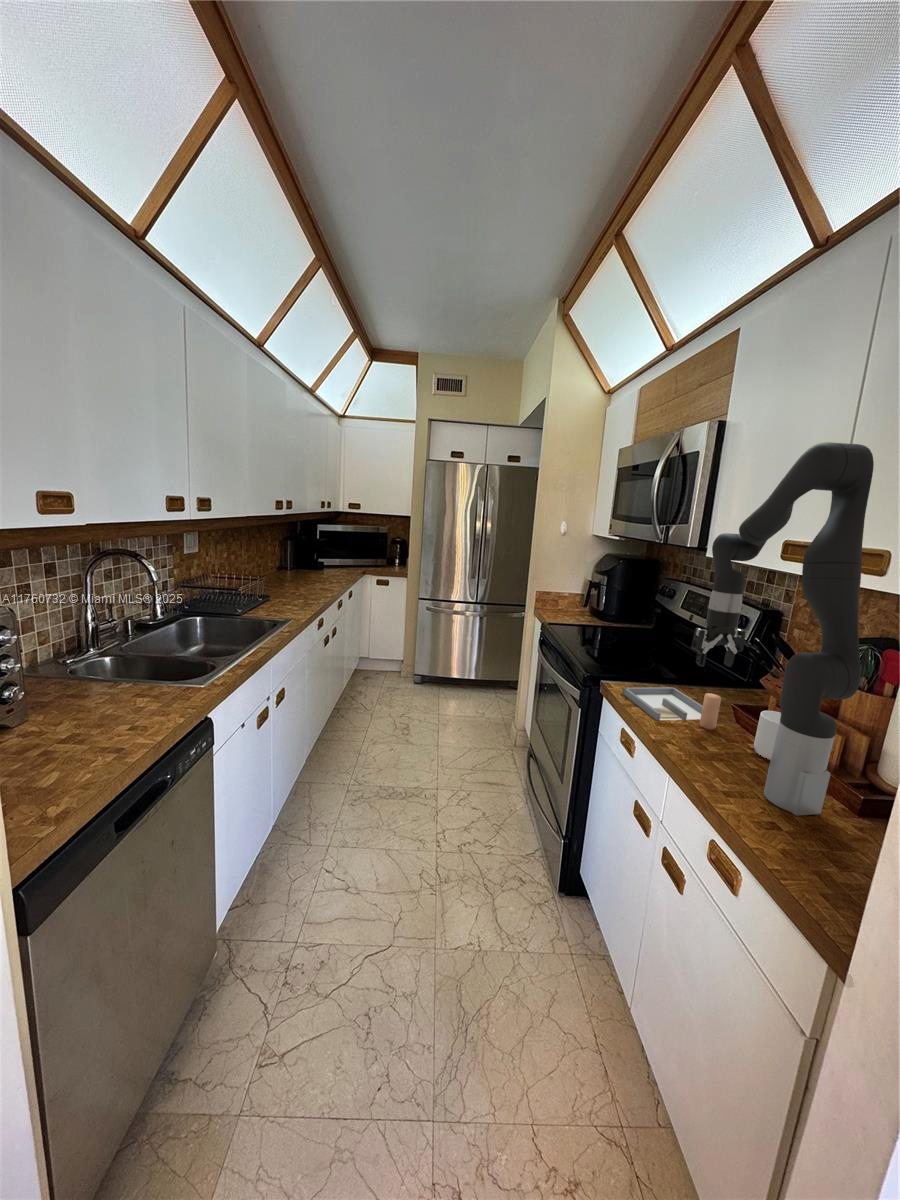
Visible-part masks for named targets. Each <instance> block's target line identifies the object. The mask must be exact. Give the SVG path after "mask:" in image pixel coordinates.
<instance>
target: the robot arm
mask: <svg viewBox="0 0 900 1200" xmlns="http://www.w3.org/2000/svg"><path fill="white" fill-rule="evenodd" d="M874 462H875V461H874V456H873V453H872V451H871V449H870V448H869V447H868V446H866V445H863V444H860V443H859V444H858V443H846V442H845V443H844V442H830V441H828V442H827V441H826V442H818V443H816V444H814V445H811V446H810V447H809V448H808V449H806V450H805V451H804V452H803V453H802V455H800V457H799V458H798V459H797V460H796V461H795V462H794V464H793V465H792V466H791V467H790V469H789V470H788V471H787V473H786V474H785V476H784V477H783V478H782V479H781V481H780V482H779V483H778V484H777V486H776V487H775V489H774V490H773V491H772V493H771V494H770V495H769V496H768V497H767V499H765V501H764V502H763V503H762V504H761V505H760V506H759V507H758V508H756V510H755V511H753V512H752V513H751V514H750V515H749V516H748V517H747V518H745V519H744V520H743V521H742V522H741V524H740V525H739V528H738V532H739V533H733V532H731V533H729V532H724V533H720V534H719V535H718V536H716V537H715V538H714V540H713V543H712V546H711V547H712V548H711V550H712V551H711V554H712V560H713V561H712V562H713V567H714V569H713V570H714V580H713V586H712V591H711V594H710V597H709V601H708V609H707V614H706V620H705V623H706V627H705V629H703V628H700V627H696V628H694V632H693V633H694V634H693V637H692V642H691V645H690V648H691V649H692V650H694V651H696V659H695V663H696V665H697V666H699V667H705V665H706V659H707V653H708V651H710V649H713V648H714V647H715V646H716V647H717V646H724V647H725V649H726V651H725V654H724V660H723V665H724V666H726V667H728V668H729V667H730V668H731V667H732V666H733V664H734V661H735V656H736V654H737V653H739V652H741V653H742V652H743V651H744V647H745V642H746V641H745V639H746V632H747V631H745V630H743V629H741V628H738V626H739V621H740V616H741V609H742V605H743V593H744V588H745V583H746V573H745V572H744V571H741V570H738V569H736V568H733V566H732V561H734V562H748V561H751V560H753V559H755V558H757V556H758V555H759V554H760V553H761V551H762V549H763V548H764V546H765V545H766V543H767V542H768V540H769V539H771V538H772V537H774V535H776V534H777V533H778V532H779V531H781V530H782V529H783V528H784V527H785V526H786V525H787V524H788V522H789V521H790V519H791V516H792V514H793V510H794V509H793V507H794V504H795V502H796V501H797V500H798V499H800V498H801V497H802V496H804V495H806V494H807V493H808V492H811V491H812V490H816V491H826V492H827V491H829V492H831V501H830V509H829V514H828V517H827V519H826V521H825V522H824V523H825V524H824V525H823V526H822V527H821V529H820V531H819V532H818V533H817V535H816V536H815V537H814V538H813V540H812V541H811V542H810V544H809V546H808V547H807V548H806V551H805V552H804V554H803V558H802V572H801V589H802V592H803V595H804V597H805V599H806V601H807V603H808V605H809V606H810V608H811V610H812V611H813V613H814V615H815V616H816V619H817V621H818V623H819V626H820V631H821V652H810V651H809V652H808V651H807V652H803V651H802V652H798V653H795V654H794V655H792V656H791V657H790V659H789V660H788V662H787V663H786V665H785V668H784V674H783V679H782V685H781V693H780V697H779V710H780V713H781V718H780V722H779V726H778V731H777V735H776V739H775V744H774V748H773V753H772V757H771V760H770V762H769V767H768V770H767V775H766V780H765V784H764V790H763V795H764V797H765V798H766V799H767V800H768V801H769V803H772V804H773V805H774V806H776V807H778V808H780V809H783V810H784V811H787V812H789V813H791V814H793V815H794V816H798V817H799V816H808V815H809V816H811V815H813V816H814V815H821V813H822V809H823V806H824V805H823V804H824V801H825V798H826V793H827V790H828V786H829V781H830V780H831V779H830V778H831V772H830V771H828V770H827V769H828V765H829V764H828V763H829V761H830V756H831V752H832V748H833V745H834V741H835V738H836V733H837V730H838V729H837V728H838V723H837V721H836V720H835V719H834V718H833V717H831V715H828V714H826V713H824V712H822V711H821V705H822V704H821V702H822V700H837V701H838V700H839V701H840V700H846V699H850V698H852V697H853V696H854V695H855V694H856V693H857V691H858V690H859V687H860V683H861V679H862V678H861V677H862V676H861V675H862V670H861V669H862V668H861V653H860V642H859V640H860V638H859V609H860V604H859V603H860V592H861V591H860V589H861V583H862V582H861V580H862V569H863V568H862V566H863V565H862V564H863V563H862V562H863V556H862V555H863V540H864V529H865V518H866V512H867V506H868V501H869V496H870V491H871V485H872V480H873V474H874V465H875V463H874Z"/></svg>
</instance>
